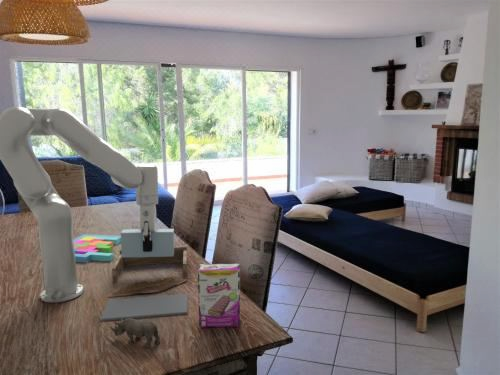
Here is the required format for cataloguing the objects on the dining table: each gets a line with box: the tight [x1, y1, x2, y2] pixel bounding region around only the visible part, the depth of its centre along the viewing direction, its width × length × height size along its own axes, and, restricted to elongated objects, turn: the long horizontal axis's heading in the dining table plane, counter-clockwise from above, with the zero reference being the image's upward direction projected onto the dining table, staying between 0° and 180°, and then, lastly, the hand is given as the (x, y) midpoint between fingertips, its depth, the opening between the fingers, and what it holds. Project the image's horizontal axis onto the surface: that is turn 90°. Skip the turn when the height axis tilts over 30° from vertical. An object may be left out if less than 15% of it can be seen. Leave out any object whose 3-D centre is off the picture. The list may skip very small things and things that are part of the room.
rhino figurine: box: [109, 318, 162, 348], centre depth 101 cm, size 4×14×6 cm, turn 73°
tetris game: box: [73, 233, 121, 263], centre depth 171 cm, size 28×3×28 cm
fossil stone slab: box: [107, 276, 188, 298], centre depth 132 cm, size 26×11×1 cm, turn 114°
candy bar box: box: [197, 263, 241, 328], centre depth 107 cm, size 11×5×16 cm, turn 92°
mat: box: [99, 293, 189, 322], centre depth 118 cm, size 12×24×1 cm, turn 98°
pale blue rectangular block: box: [120, 228, 175, 258], centre depth 143 cm, size 4×18×9 cm, turn 97°
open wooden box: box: [111, 245, 188, 283], centre depth 147 cm, size 17×25×6 cm
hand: (148, 248), depth 144 cm, fingers closed on pale blue rectangular block, 4 cm apart
